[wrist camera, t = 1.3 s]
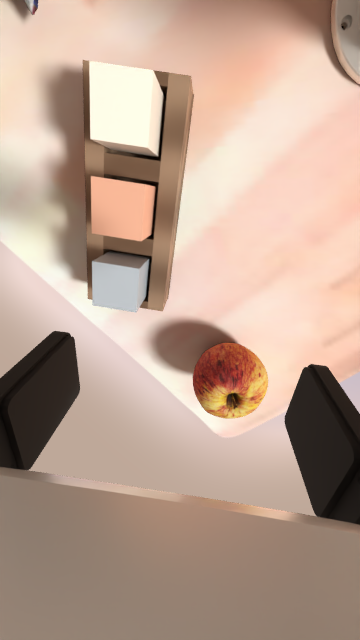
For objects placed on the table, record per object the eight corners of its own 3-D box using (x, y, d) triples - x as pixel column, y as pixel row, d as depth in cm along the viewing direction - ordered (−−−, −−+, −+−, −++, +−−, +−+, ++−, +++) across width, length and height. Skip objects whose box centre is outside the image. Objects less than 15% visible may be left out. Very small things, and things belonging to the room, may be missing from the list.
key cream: (112, 88, 22) (89, 60, 18) (164, 96, 22) (153, 70, 18) (111, 149, 24) (90, 138, 20) (158, 157, 24) (147, 147, 20)
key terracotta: (111, 179, 25) (90, 175, 21) (156, 186, 25) (145, 184, 21) (110, 227, 27) (91, 233, 23) (152, 234, 27) (141, 241, 23)
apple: (239, 317, 34) (251, 360, 25) (269, 365, 37) (290, 419, 28) (183, 347, 37) (176, 395, 28) (215, 389, 40) (218, 445, 31)
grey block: (110, 251, 28) (92, 261, 24) (150, 257, 28) (139, 268, 24) (109, 289, 30) (92, 305, 26) (146, 295, 30) (136, 312, 26)
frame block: (102, 82, 25) (82, 60, 21) (193, 96, 25) (191, 75, 21) (101, 286, 34) (87, 298, 30) (168, 297, 34) (162, 311, 30)
